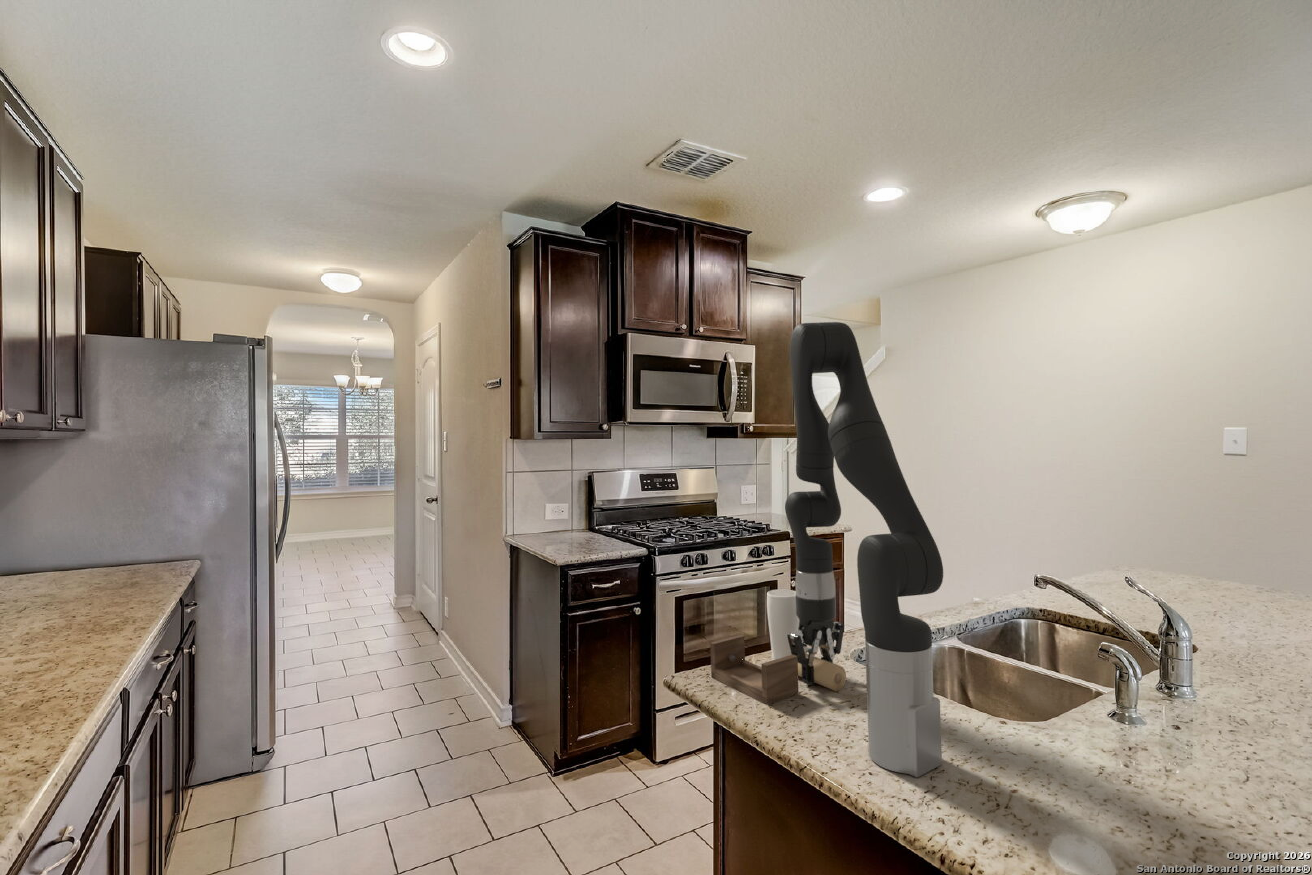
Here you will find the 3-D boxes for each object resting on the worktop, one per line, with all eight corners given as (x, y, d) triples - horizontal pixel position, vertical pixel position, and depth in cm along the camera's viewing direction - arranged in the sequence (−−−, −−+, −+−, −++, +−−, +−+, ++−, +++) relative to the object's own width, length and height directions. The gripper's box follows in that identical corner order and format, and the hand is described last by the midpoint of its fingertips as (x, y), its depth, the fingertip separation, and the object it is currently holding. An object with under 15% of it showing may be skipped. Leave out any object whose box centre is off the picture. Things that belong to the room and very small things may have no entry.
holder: (798, 693, 115) (797, 656, 115) (767, 704, 110) (766, 665, 110) (741, 668, 128) (740, 634, 128) (711, 677, 124) (710, 642, 124)
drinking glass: (798, 657, 133) (796, 588, 133) (803, 669, 126) (801, 596, 127) (767, 657, 134) (765, 589, 134) (770, 669, 127) (767, 597, 127)
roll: (847, 687, 117) (846, 663, 117) (830, 693, 114) (829, 669, 114) (806, 671, 125) (805, 649, 125) (790, 676, 123) (789, 654, 123)
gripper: (803, 603, 113) (806, 695, 113) (854, 590, 121) (857, 677, 121) (775, 595, 119) (777, 683, 119) (825, 584, 127) (827, 666, 127)
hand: (817, 679), depth 120 cm, fingers closed on roll, 4 cm apart
